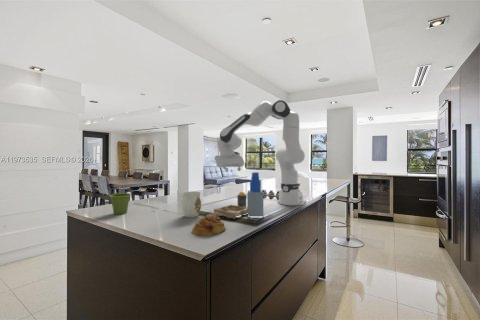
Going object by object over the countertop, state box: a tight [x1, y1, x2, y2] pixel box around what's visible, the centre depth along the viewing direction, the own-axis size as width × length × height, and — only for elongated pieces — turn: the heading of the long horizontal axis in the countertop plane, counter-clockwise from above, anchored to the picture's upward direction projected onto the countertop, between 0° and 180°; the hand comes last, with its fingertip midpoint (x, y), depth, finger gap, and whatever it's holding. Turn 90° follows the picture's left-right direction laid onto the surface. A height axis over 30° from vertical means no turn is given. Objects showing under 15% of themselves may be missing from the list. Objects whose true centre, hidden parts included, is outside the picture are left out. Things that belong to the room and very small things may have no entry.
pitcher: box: [181, 191, 202, 218], centre depth 140 cm, size 11×18×14 cm, turn 162°
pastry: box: [191, 212, 226, 237], centre depth 113 cm, size 13×15×8 cm
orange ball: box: [238, 191, 246, 196], centre depth 154 cm, size 4×4×4 cm
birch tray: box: [213, 204, 248, 217], centre depth 141 cm, size 15×15×4 cm
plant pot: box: [108, 192, 132, 216], centre depth 146 cm, size 12×12×11 cm
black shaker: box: [236, 194, 247, 207], centre depth 155 cm, size 6×6×9 cm
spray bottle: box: [246, 171, 264, 217], centre depth 136 cm, size 9×9×25 cm
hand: (233, 170), depth 165 cm, fingers open, 8 cm apart
